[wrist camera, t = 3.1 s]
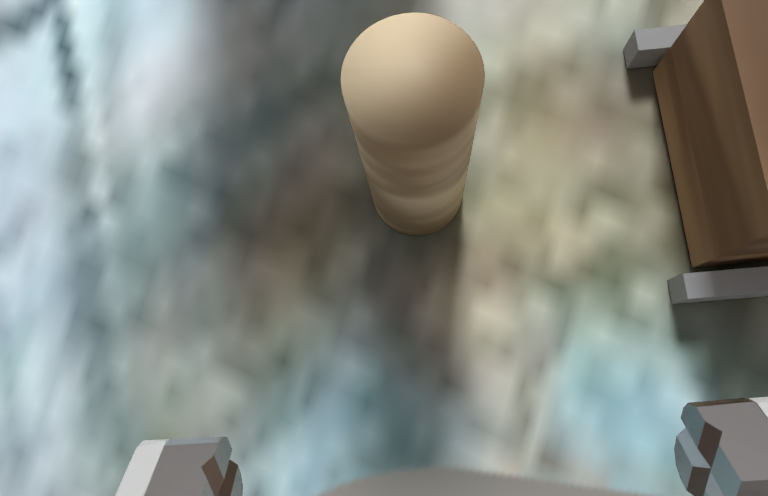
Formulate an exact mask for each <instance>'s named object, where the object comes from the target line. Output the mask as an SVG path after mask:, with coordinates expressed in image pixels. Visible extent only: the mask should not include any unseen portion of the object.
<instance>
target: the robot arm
mask: <svg viewBox="0 0 768 496" xmlns="http://www.w3.org/2000/svg"><path fill="white" fill-rule="evenodd" d="M681 419H682V421H683V423H684V425H685V427H686V428H685V429H684V430H683V431H681V432H680V433H679V434H678V435H677V436H676V442H675V447H674V452H675V460H676V466H677V469H678V472H679V475H680V478H681V480H682V482H683V484H684V486H685V488H686V490H687V491H688V492H689V493H691V494H692V495H693V496H768V397H758V398H748V399H745V398H740V399H728V400H716V401H704V402H691V403H687V404H686V406H685V407H684V408H683V411H682V415H681ZM231 452H232V448H231V445H230V443H229V440H228V438H227V437H201V438H178V439H163V440H144V441H143V442H142V443H141V444H140V445H139V446H138V447H137V448H136V450H135V452H134V454H133V456H132V459H131V461H130V463H129V465H128V467H127V470H126V472H125V474H124V476H123V479H122V481H121V483H120V485H119V487H118V490H117V492H116V494H115V496H242V492H243V484H242V477H241V473H240V470H239V467H238V465H237V464H235V463H234V462H232V461H231V460H229V459H230V455H231Z"/></svg>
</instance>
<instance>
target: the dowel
mask: <svg viewBox="0 0 768 496" xmlns="http://www.w3.org/2000/svg"><path fill="white" fill-rule="evenodd" d="M484 78H485V72H484V64H483V60H482V57H481V54H480V52H479V50H478V48H477V46H476V44H475V43H474V41H473V40H472V39H471V38H470V36H469V35H468V34H467V33H466V32H465V31H464V30H463V29H461V28H460V27H459V26H457V25H456V24H454V23H452V22H451V21H449V20H447V19H444V18H442V17H439V16H436V15H432V14H426V13H403V14H398V15H393V16H390V17H387V18H385V19H382V20H380V21H378V22H376V23H375V24H373V25H371V26H370V27H368V28H367V29H366V30H365V31H363V32H362V33H361V34H360V35H359V36H358V37H357V38H356V40H355V41H354V42H353V44H352V45H351V47H350V48H349V50H348V52H347V54H346V56H345V59H344V61H343V65H342V70H341V89H342V94H343V98H344V101H345V105H346V108H347V112H348V115H349V119H350V122H351V126H352V129H353V132H354V136H355V139H356V143H357V146H358V150H359V153H360V157H361V160H362V164H363V167H364V171H365V174H366V178H367V181H368V185H369V188H370V191H371V195H372V198H373V202H374V205H375V208H376V210H377V212H378V214H379V216H380V217H381V219H382V220H383V221H384V222H385V223H386V224H387V225H388V226H390V227H391V228H393V229H394V230H396V231H398V232H400V233H404V234H407V235H415V236H419V235H427V234H431V233H434V232H436V231H438V230H440V229H442V228H443V227H445V226H446V225H447V224H449V223H450V222H451V221H452V219H453V218H454V217H455V215H456V214H457V212H458V210H459V208H460V205H461V202H462V197H463V191H464V186H465V181H466V176H467V170H468V165H469V160H470V155H471V150H472V144H473V139H474V134H475V129H476V123H477V118H478V113H479V108H480V103H481V97H482V92H483V87H484Z"/></svg>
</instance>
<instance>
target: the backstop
mask: <svg viewBox="0 0 768 496" xmlns="http://www.w3.org/2000/svg"><path fill="white" fill-rule="evenodd" d="M686 25H687V24H685V25H676V26H667V27H657V28H648V29H639V30H634V32H633V33H632V35H631V37H630V39H629V40H628V42H627V44H626V45H625V47H624V49H623V51H624V56H625V61H626V66H627V69H630V68H640V67H649V66H657V65H658V64H659V63H660V61H661V60H662V58H663V57H664V56H665V54H666V53H667V52H668V50H669V49H670V47H671V46H672V45H673V43H674V42H675V40H676V39H677V38H678V36H679V35H680V34H681V32H682V31H683V29H684V28H685V27H686ZM668 285H669V290H670V295H671V301H672V304H679V303H691V302H703V301H715V300H727V299H739V298H751V297H763V296H768V266H766V267H754V268H742V269H730V270H719V271H707V272H695V273H684V274H681V275H678V276H676V277H674V278H672V279H669V280H668Z"/></svg>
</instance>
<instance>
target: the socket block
mask: <svg viewBox="0 0 768 496" xmlns="http://www.w3.org/2000/svg"><path fill="white" fill-rule="evenodd" d="M653 76H654V81H655V86H656V91H657V96H658V101H659V106H660V111H661V116H662V121H663V126H664V131H665V135H666V140H667V145H668V150H669V155H670V160H671V165H672V170H673V175H674V180H675V185H676V190H677V195H678V199H679V204H680V209H681V214H682V219H683V224H684V229H685V234H686V239H687V244H688V249H689V254H690V259H691V263H692V268H695V267H707V266H719V265H730V264H742V263H754V262H765V261H768V0H704V2H703V3H702V4H701V6H700V7H699V9H698V10H697V11H696V13H695V14H694V15H693V17H692V18H691V20H690V21H689V22H688V24H687V25H686V27H685V28H684V29H683V31H682V32H681V34H680V35H679V36H678V38H677V39H676V40H675V42H674V43H673V45H672V46H671V47H670V49H669V50H668V52H667V53H666V54H665V56H664V57H663V58H662V60H661V61H660V63H659V64H658V65H657V67H656V68H655V70H654V71H653Z"/></svg>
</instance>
